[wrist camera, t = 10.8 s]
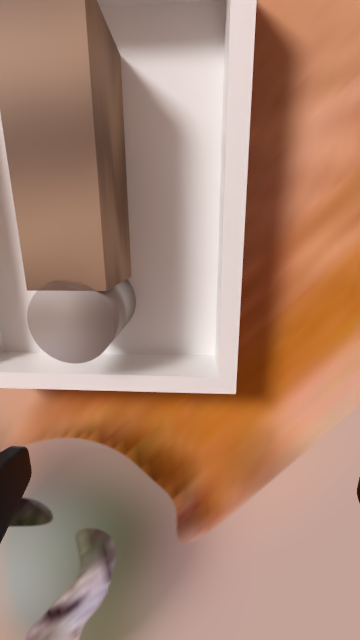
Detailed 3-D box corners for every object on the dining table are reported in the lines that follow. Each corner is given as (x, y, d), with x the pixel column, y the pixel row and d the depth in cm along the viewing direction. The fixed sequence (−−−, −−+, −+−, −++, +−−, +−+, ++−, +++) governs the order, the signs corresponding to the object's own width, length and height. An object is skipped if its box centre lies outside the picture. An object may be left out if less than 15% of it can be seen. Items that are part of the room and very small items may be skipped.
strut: (137, 331, 19) (115, 364, 14) (75, 330, 19) (33, 362, 14) (124, 55, 15) (87, -34, 10) (46, 58, 15) (-27, -27, 10)
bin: (245, -11, 14) (261, -101, 11) (228, 363, 20) (235, 394, 16) (-64, 7, 15) (-152, -71, 11) (2, 359, 21) (-42, 386, 17)
